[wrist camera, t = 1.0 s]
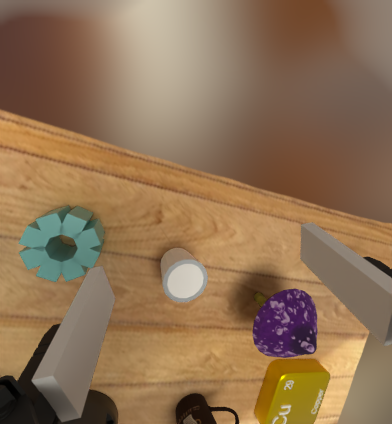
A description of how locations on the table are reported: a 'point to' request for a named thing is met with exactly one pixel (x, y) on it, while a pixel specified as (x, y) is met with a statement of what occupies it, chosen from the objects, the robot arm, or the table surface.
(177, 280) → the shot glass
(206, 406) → the coffee mug
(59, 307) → the table surface
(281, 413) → the element tile
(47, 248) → the idler gear
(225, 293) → the table surface
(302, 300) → the decorative mushroom
